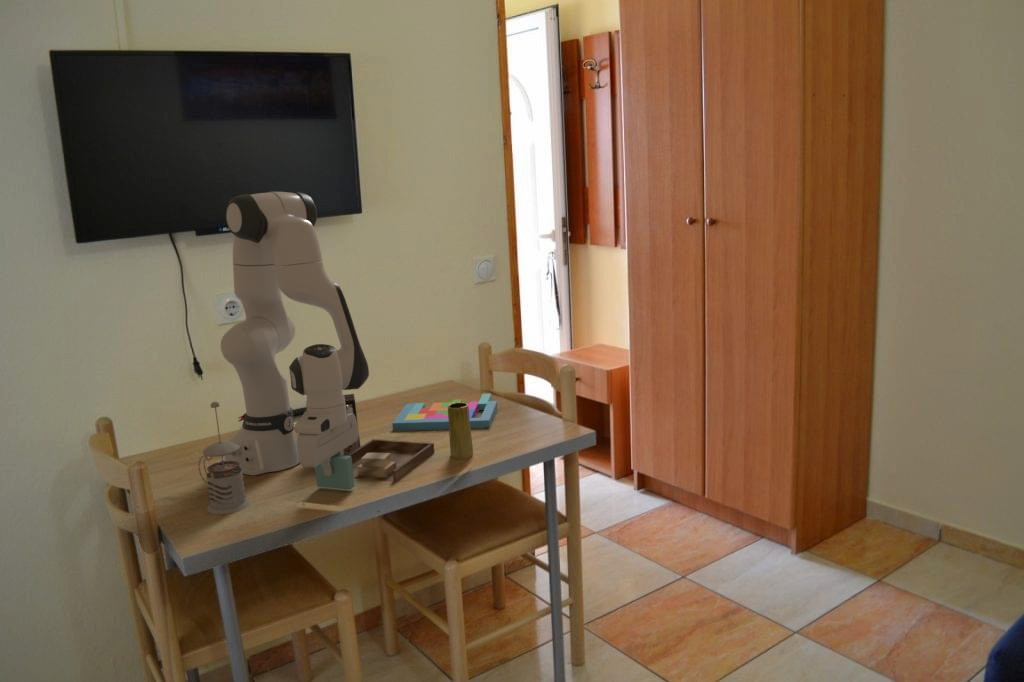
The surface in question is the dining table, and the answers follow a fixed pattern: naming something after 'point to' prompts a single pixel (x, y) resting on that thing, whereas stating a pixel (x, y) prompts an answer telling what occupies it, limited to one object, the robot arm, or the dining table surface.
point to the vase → (460, 431)
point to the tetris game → (443, 415)
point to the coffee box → (351, 402)
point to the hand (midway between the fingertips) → (333, 472)
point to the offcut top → (376, 459)
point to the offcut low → (377, 470)
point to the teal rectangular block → (337, 473)
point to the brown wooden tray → (393, 456)
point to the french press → (224, 478)
